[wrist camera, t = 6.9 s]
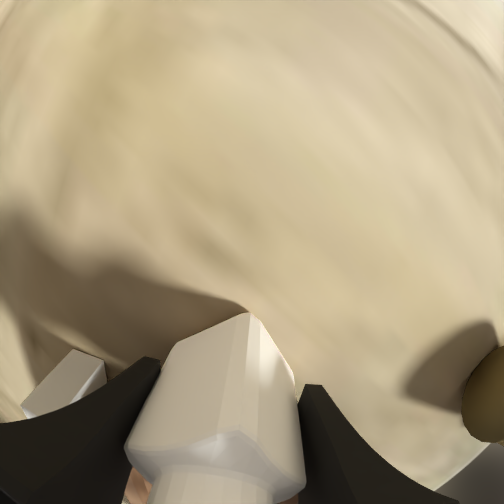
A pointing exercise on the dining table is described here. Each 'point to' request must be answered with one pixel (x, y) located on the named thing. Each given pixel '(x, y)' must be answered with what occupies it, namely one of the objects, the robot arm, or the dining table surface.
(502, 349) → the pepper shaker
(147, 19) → the dining table surface
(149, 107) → the dining table surface
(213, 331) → the pepper shaker
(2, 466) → the robot arm
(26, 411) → the block
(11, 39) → the dining table surface
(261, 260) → the dining table surface
